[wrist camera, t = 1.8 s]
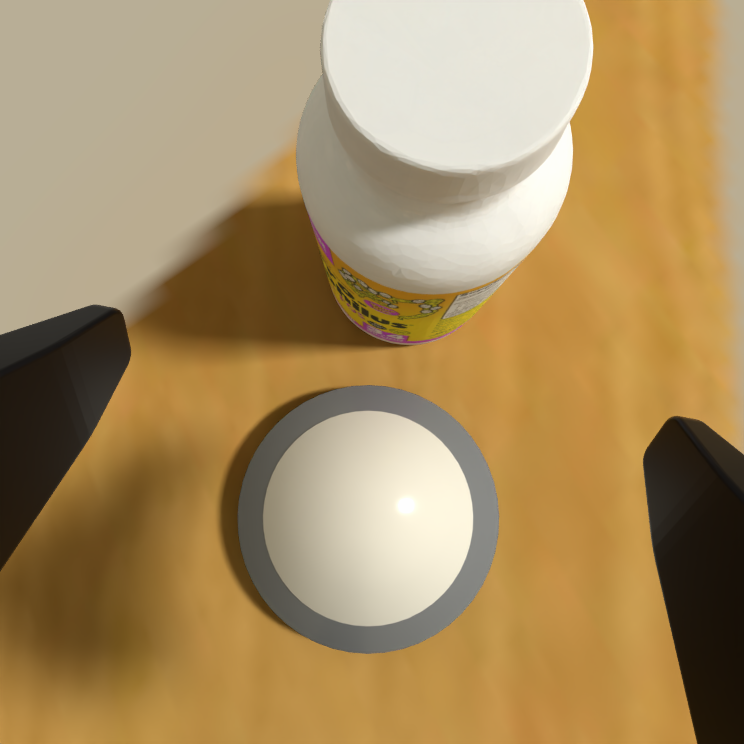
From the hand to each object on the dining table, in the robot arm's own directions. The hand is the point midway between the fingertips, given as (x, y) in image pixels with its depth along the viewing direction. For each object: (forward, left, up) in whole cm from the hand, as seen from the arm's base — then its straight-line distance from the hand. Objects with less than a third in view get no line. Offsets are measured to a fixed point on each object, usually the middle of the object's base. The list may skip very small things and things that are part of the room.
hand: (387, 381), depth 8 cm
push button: (-4, -1, -12) cm, 13 cm away
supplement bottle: (+6, 0, -13) cm, 14 cm away
